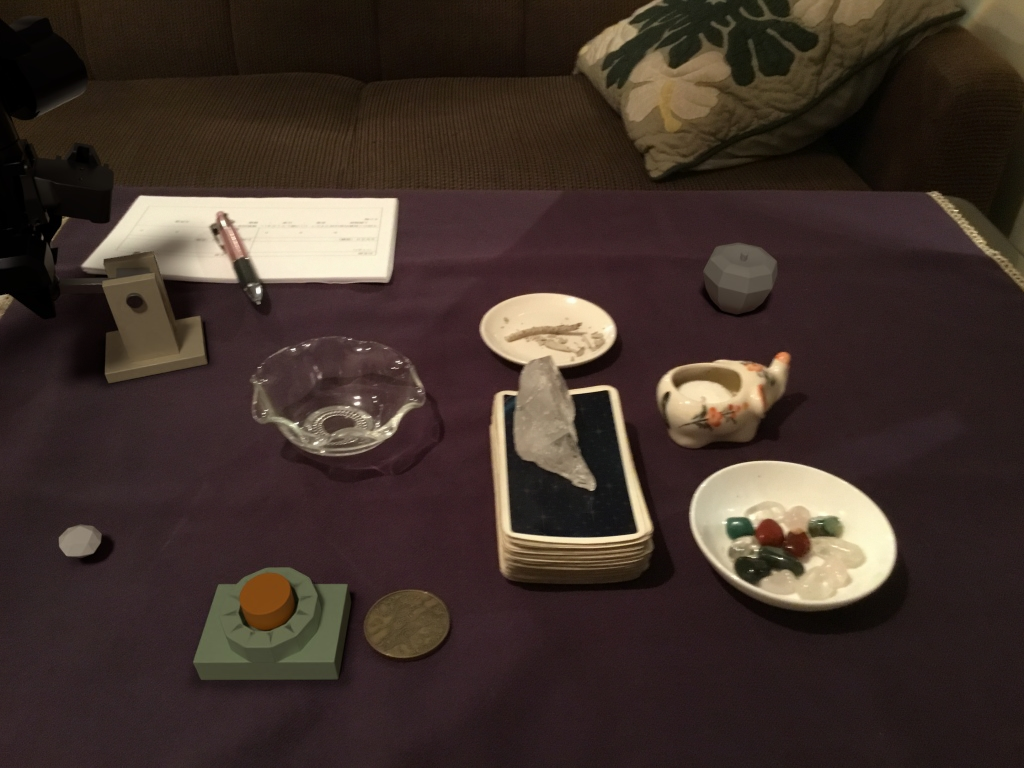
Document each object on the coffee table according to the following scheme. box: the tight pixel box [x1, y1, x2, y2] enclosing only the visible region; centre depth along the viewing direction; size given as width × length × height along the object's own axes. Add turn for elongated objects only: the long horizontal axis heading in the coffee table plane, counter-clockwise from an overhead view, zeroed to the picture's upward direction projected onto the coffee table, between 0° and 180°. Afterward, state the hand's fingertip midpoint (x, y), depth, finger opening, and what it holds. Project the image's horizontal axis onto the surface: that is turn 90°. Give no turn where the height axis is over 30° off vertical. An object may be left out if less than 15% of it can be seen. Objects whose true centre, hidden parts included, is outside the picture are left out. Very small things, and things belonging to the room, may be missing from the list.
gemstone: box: [58, 523, 102, 559], centre depth 58 cm, size 3×3×3 cm
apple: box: [702, 242, 778, 315], centre depth 84 cm, size 8×8×7 cm
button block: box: [192, 566, 352, 681], centre depth 53 cm, size 9×6×4 cm
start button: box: [239, 573, 295, 630], centre depth 51 cm, size 3×3×2 cm
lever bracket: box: [102, 250, 209, 384], centre depth 75 cm, size 9×7×10 cm
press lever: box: [51, 267, 150, 302], centre depth 71 cm, size 10×3×3 cm, turn 110°
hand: (51, 307), depth 72 cm, fingers closed on press lever, 3 cm apart
